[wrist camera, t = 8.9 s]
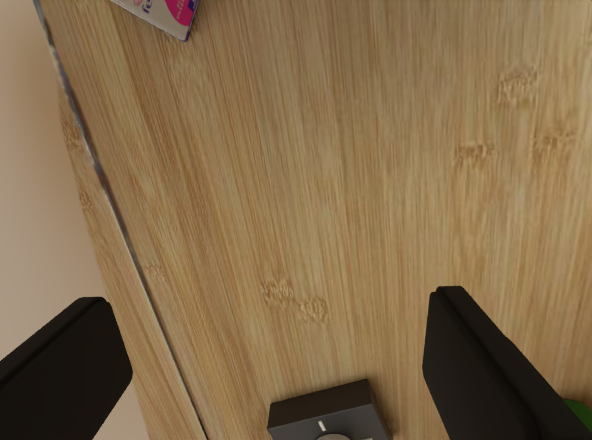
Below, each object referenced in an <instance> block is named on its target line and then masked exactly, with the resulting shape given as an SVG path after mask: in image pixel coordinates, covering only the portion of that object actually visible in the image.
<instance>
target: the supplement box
mask: <svg viewBox="0 0 592 440" xmlns="http://www.w3.org/2000/svg"><path fill="white" fill-rule="evenodd" d="M110 1H112V2H114V3H115V4H117V5H119V6H121V7H122V8H124V9H126V10H128V11H129V12H131V13H133V14H135V15H136V16H138V17H140V18H142V19H144V20H145V21H147V22H149V23H151V24H153V25H154V26H156V27H158V28H160V29H162V30H164V31H165V32H167V33H169V34H171V35H172V36H174V37H176V38H178V39H180V40H182V41H184V42H186V41H187V39H188V35H189V32H190V28H191V24H192V21H193V18H194V15H195V12H196V9H197V6H198V3H199V0H110Z"/></svg>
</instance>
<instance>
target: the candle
mask: <svg viewBox="0 0 592 440" xmlns="http://www.w3.org/2000/svg"><path fill="white" fill-rule="evenodd" d="M563 401H564V402H565V403H566V404H567V405H568V406H569V408H570V409H571V410H572V411H573V412H574V413H575V414H576V416H577V417H578V418H579V419H580V420H581V421H582V422H583V424H584V425H585V426H586V427H587V428H588V429H589V430H590V432H591V433H592V411H591V410H590V409H589V408H588V407H587V406H585V405H584V404H582V403H579V402H577V401H572V400H563Z"/></svg>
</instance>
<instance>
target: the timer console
mask: <svg viewBox="0 0 592 440" xmlns="http://www.w3.org/2000/svg"><path fill="white" fill-rule="evenodd" d="M267 430H268V432H269V433H270V435H271V436H272V438H273V440H317V439H318V438H320V437H321V436H324V435H327V434H340V435H343V436H346V437H348V438H349V439H350V440H393V437H392V435H391V433H390V430H389V428H388V426H387V423H386V421H385V419H384V417H383V414H382V412H381V410H380V407H379V405H378V403H377V400H376V398H375V396H374V394H373V391H372V389H371V387H370V384H369V382H368V380H367V379H366V380H362V381H358V382H355V383H351V384H347V385H343V386H339V387H335V388H331V389H328V390H324V391H320V392H316V393H312V394H308V395H304V396H301V397H297V398H293V399H289V400H285V401H281V402H277V403H274V404H271V405H270V411H269V419H268V426H267Z"/></svg>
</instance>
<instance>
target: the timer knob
mask: <svg viewBox="0 0 592 440" xmlns="http://www.w3.org/2000/svg"><path fill="white" fill-rule="evenodd" d="M317 440H350V439H349V438H348V437H346V436H343V435H340V434H327V435H324V436H321V437H320V438H318V439H317Z"/></svg>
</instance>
